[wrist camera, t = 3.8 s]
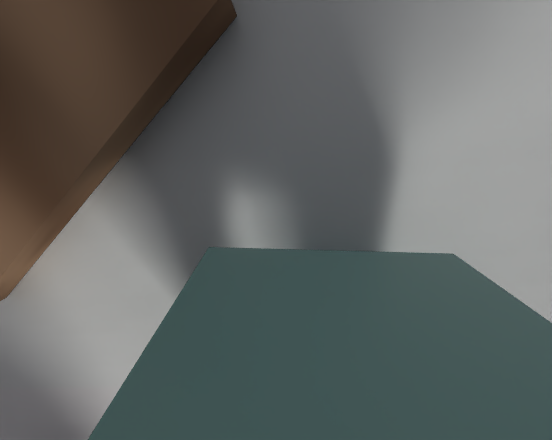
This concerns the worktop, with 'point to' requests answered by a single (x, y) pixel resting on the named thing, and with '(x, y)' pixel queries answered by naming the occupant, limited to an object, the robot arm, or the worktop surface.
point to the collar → (338, 353)
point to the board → (82, 102)
